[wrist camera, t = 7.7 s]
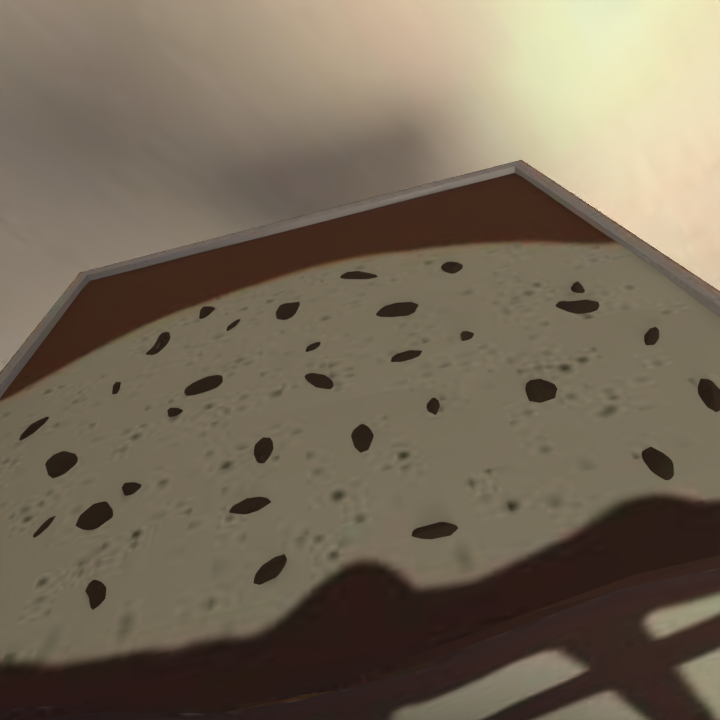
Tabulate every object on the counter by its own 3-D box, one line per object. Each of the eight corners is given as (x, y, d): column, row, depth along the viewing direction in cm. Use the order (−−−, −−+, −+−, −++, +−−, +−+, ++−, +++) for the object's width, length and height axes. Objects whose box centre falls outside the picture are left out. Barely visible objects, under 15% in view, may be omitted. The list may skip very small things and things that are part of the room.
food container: (138, 485, 16) (-15, 1041, 8) (11, 289, 13) (-487, 925, 5) (594, 378, 16) (928, 863, 7) (595, 140, 12) (1233, 567, 4)
